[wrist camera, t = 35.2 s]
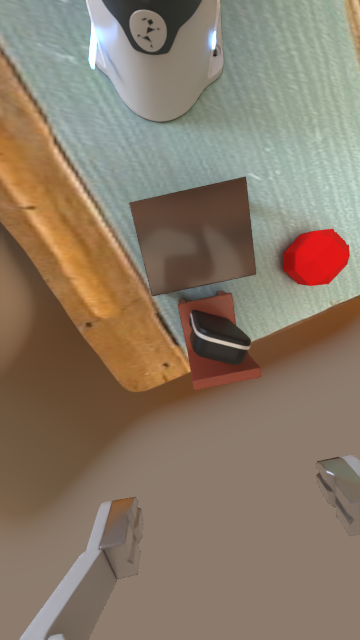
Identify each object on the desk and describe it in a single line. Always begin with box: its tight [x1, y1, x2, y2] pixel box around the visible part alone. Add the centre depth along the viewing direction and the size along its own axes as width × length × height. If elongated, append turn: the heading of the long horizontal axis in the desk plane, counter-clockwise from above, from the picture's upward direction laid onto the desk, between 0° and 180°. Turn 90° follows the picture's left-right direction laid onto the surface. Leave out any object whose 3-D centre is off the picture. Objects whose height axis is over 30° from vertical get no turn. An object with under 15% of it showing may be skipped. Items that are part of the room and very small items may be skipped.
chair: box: [178, 291, 261, 390], centre depth 32 cm, size 10×9×15 cm
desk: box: [129, 177, 256, 296], centre depth 33 cm, size 13×16×8 cm
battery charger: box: [189, 310, 251, 365], centre depth 29 cm, size 7×4×11 cm, turn 75°
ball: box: [284, 229, 350, 286], centre depth 34 cm, size 8×8×8 cm
